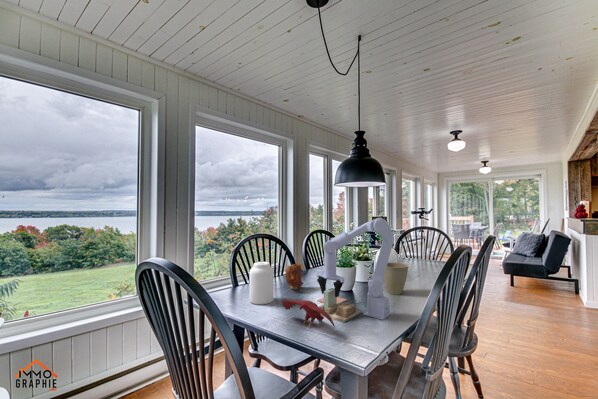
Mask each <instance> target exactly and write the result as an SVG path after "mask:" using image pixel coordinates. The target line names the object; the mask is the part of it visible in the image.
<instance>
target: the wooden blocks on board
mask: <svg viewBox="0 0 598 399" xmlns="http://www.w3.org/2000/svg"><path fill="white" fill-rule="evenodd" d="M342 304H343V303H338V304H336V305H334V306H332V307H329V308H327V309H326V311H325V312H326V313H328V314H329V316H330V317H331V319H332V320H335V321H338V322H341V323H346V322H347V321H349V320H351V319H353V318H355V317H356V316H358V315H360V314H361V310H357V309H356V312H355V313H353V314H351V315H350V316H348V317H346V318H344V317H341V316H337V315H336V311H337V307H338V306H340V305H342ZM318 307H319V308H321V309H322V310H324V304H322V305H319V306H318ZM321 315H322V314H321ZM322 316H323V317H324V318H326V317H325V316H324V315H322Z"/></svg>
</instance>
